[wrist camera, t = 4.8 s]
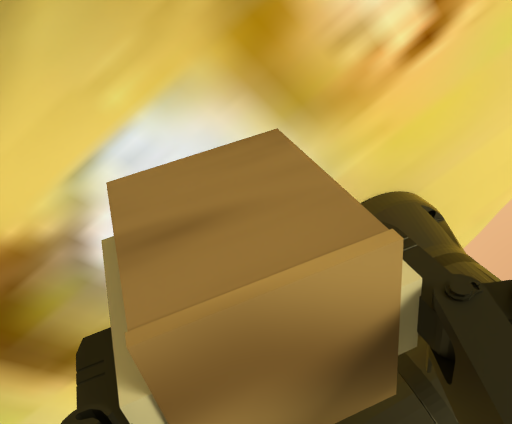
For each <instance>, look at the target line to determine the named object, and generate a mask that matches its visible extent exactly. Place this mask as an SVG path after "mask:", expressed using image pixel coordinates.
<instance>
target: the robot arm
mask: <svg viewBox="0 0 512 424" xmlns="http://www.w3.org/2000/svg"><path fill="white" fill-rule="evenodd" d="M361 205H362V206H363V207H365V208H366V209H367V210H368V211H369V212H370V213H371V214H372V215H373V216H374V217H376V218H377V219H378V220H379V221H380V222H381V223H382V224H383V225H384V226H386V227H387V228H388V229H389V230H390V229H394V230H395V231H396V232H397V233H398V234H399V235H400V236H401V237H403V238H404V240H403V261H402V282H401V303H400V325H399V346H398V367H397V388H396V395H394V396H392V397H389V398H387V399H385V400H383V401H381V402H379V403H377V404H375V405H373V406H371V407H368V408H366V409H364V410H362V411H360V412H358V413H356V414H354V415H352V416H350V417H347V418H345V419H343V420H341V421H339V422H337V423H335V424H512V280H506V281H501V280H500V279H499V278H497V277H496V276H495V275H493V274H492V273H491V272H489V271H488V270H487V269H485V268H484V267H483V266H481V265H480V264H479V263H477V262H476V261H475V260H474V259H472V258H471V257H470V256H468V255H467V254H466V253H465V251H464V250H463V248H462V247H461V245H460V244H459V242H458V240H457V239H456V237H455V236H454V234H453V232H452V231H451V229H450V228H449V226H448V224H447V223H446V221H445V220H444V218H443V217H442V215H441V214H440V212H439V211H438V210H437V209H436V208H435V207H433V206H432V205H431V204H429V203H428V202H427V201H425V200H424V199H422V198H421V197H419V196H418V195H415V194H413V193H409V192H390V193H385V194H381V195H379V196H376V197H373V198H371V199H369V200H367V201H365V202H363V203H362V204H361ZM101 241H102V250H103V259H104V268H105V277H106V287H107V296H108V305H109V314H110V323H111V327H110V328H108V329H105V330H103V331H100V332H97V333H95V334H92V335H90V336H87V337H85V338H83V340H82V342H81V344H80V347H79V349H78V351H77V354H76V371H77V374H76V384H77V410H75V411H73V412H72V413H71V414H70V415H69V416H68V417H66V418H65V419H64V420H63V421H62V423H61V424H168V422H167V420H166V419H165V417H164V415H163V413H162V411H161V410H160V408H159V406H158V404H157V402H156V400H155V399H154V397H153V395H152V393H151V391H150V390H149V388H148V386H147V384H146V382H145V380H144V379H143V377H142V375H141V373H140V371H139V369H138V368H137V366H136V364H135V362H134V360H133V359H132V357H131V355H130V353H129V351H128V349H127V347H126V339H125V332H127V331H128V330H127V323H126V316H125V309H124V302H123V295H122V288H121V281H120V274H119V267H118V260H117V253H116V246H115V239H114V236H113V237H110V238H107V239H104V240H101Z"/></svg>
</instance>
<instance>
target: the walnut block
mask: <svg viewBox="0 0 512 424" xmlns="http://www.w3.org/2000/svg"><path fill="white" fill-rule="evenodd" d="M107 190H108V197H109V204H110V211H111V218H112V225H113V232H114V239H115V246H116V253H117V260H118V267H119V274H120V281H121V288H122V295H123V302H124V309H125V316H126V323H127V330H128V331H127V332H125V339H126V347H127V349H128V351H129V353H130V355H131V357H132V359H133V360H134V362H135V364H136V366H137V368H138V369H139V371H140V373H141V375H142V377H143V379H144V380H145V382H146V384H147V386H148V388H149V390H150V391H151V393H152V395H153V397H154V399H155V400H156V402H157V404H158V406H159V408H160V410H161V411H162V413H163V415H164V417H165V419H166V420H167V422H168V424H335V423H337V422H339V421H341V420H343V419H345V418H347V417H350V416H352V415H354V414H356V413H358V412H360V411H362V410H364V409H366V408H368V407H371V406H373V405H375V404H377V403H379V402H381V401H383V400H385V399H387V398H389V397H392V396H394V395H396V388H397V367H398V346H399V325H400V303H401V282H402V261H403V240H404V238H403V237H401V236H400V235H399V234H398V233H397V232H396V231H395V230H394V229H390V230H389V229H388V228H387V227H386V226H384V225H383V224H382V223H381V222H380V221H379V220H378V219H377V218H376V217H374V216H373V215H372V214H371V213H370V212H369V211H368V210H367V209H366V208H365V207H363V206H362V205H361V204H360V203H359V202H358V201H357V200H356V199H355V198H354V197H352V196H351V195H350V194H349V193H348V192H347V191H346V190H345V189H344V188H342V187H341V186H340V185H339V184H338V183H337V182H336V181H335V180H334V179H333V178H331V177H330V176H329V175H328V174H327V173H326V172H325V171H324V170H323V169H321V168H320V167H319V166H318V165H317V164H316V163H315V162H314V161H313V160H312V159H310V158H309V157H308V156H307V155H306V154H305V153H304V152H303V151H302V150H300V149H299V148H298V147H297V146H296V145H295V144H294V143H293V142H292V141H291V140H289V139H288V138H287V137H286V136H285V135H284V134H283V133H282V132H281V131H279V130H278V129H274V130H271V131H268V132H265V133H261V134H258V135H255V136H252V137H249V138H246V139H243V140H239V141H236V142H233V143H230V144H227V145H224V146H220V147H217V148H214V149H211V150H208V151H205V152H201V153H198V154H195V155H192V156H189V157H186V158H183V159H179V160H176V161H173V162H170V163H167V164H164V165H160V166H157V167H154V168H151V169H148V170H145V171H141V172H138V173H135V174H132V175H129V176H126V177H123V178H119V179H116V180H113V181H110V182H107Z"/></svg>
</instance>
